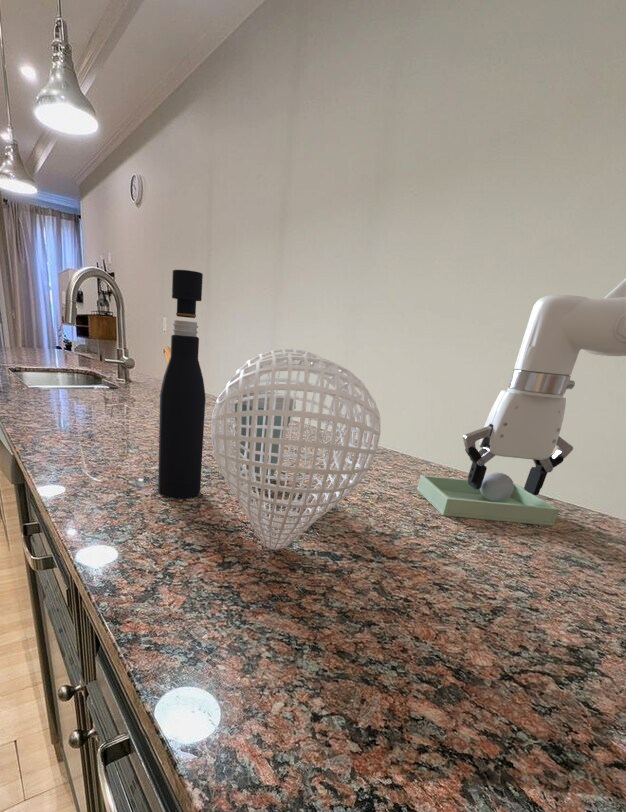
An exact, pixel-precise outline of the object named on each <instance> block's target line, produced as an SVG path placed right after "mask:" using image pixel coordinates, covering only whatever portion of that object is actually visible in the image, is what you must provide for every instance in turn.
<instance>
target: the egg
mask: <svg viewBox="0 0 626 812" xmlns="http://www.w3.org/2000/svg"><path fill="white" fill-rule="evenodd" d="M514 484H515V483H514V481H513V479H512V478H511V477H510V476H509V475H507V474H506V473H503V472H492V473H489V474H487V475H486V476H484V479H483V482H482V485H481V488H480V492H481V494H482V496H483V497H484V498H485V499H486V500H488V501H491V502H502V501H505V500H507V499H508V498H509V497H510V496H511V495H512V493H513V491H514Z"/></svg>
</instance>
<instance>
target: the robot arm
mask: <svg viewBox="0 0 626 812" xmlns="http://www.w3.org/2000/svg"><path fill="white" fill-rule="evenodd" d="M519 347H520V348H519V351H518V354H517V357H516V361H515V364H514V367H513V369H512V372H511V377H510V380H509V383H508V386H507V389H501V390H500V392H499V394H498V395H497V397H496V398H495V402H494V403H493V405H492V407H491V408H490V411H489V412H488V413H489V414H488V416H487V418H486V421H485V424H484V426H483V427H482V428H479V429H476V430H474V431H470V432H468V433H465V434H464V435H463V436H462V440H463V445H464V448H465V449H464V450H465V453H466V454H467V455H468V457H469V460H470V461H471V465H470V468H469V472H468V475H467V480H468V484H469V485H470V486H472V487H473V488H474V489H480V488H481V485H482V482H483V479H484V478H485V477H486V476H485V475H486V473H487V470H488V468H487V465H485V464H487V463H488V462H489V461H490V460H492V459H493V458H494V457H495V456H498V457H503V458H505V457H506V458H514V459H522V460H523V459H524V460H532V461H533V464H534V466H531V468H530V469H529V472H528V475H527V478H526V481H525V484H524V486H523V488H524V489H525V490H526V491H528V492H530V493H531V494H533V495H536V496H539V494H540V491H541V489H542V488H543V486H544V483H545V480H546V478H547V475H548V473H552V472H553V470H554V468H556V467H557V466H559V465H561V464H562V463H563V462H564V460H565V459H566V458H567V457H568V456H569V455H570V453H572V452H573V450H574V446H572V444H570V442H567V441H566V440H565V439H563V438H562V437H561V436H560V433H561V429H562V426H563V422H564V417H565V411H566V405H567V404H566V403H567V397H564V395H565V393H566V391H567V390H572V389H574V387H575V384H576V382H575V381H574V380H571V377H572V373H573V370H574V366H575V364H576V361H577V359H578V356H579V354H580V351H581V350H583V351H585V352H587V353H589V354H591V355H594V356H602V357H603V356H605V357H625V356H626V277H625V278H624V279H623V280H622V281H621V282H620V283H619V284H617V286H615V287H614V288H613V289H612V290H610V292H609V293H607V295H605V296H604V297H603V298H590V297H586V296H580V295H571V294H570V295H569V294H552V295H545V296H542V297H540V298H539V299H538V300H536V302H535V303H534V305H533V307H532V309H531V312H530V315H529V319H528V322H527V324H526V328H525V332H524V335H523V338H522V340H521V345H520V346H519ZM477 441H478V446H479V447H480V448H479V449H477V447H476V446H477V445H476V442H477ZM555 448H556V450H555ZM554 451H555V453H553V452H554Z"/></svg>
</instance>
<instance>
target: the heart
mask: <svg viewBox="0 0 626 812" xmlns="http://www.w3.org/2000/svg"><path fill="white" fill-rule="evenodd" d="M276 372H277V373H276ZM281 372H287V373H286V377H280V375H281ZM293 372H297V373H296V379H294V378H292V373H293ZM301 372H304V374H303V375H304V377H303V380H301V379H299V378H300V374H301ZM311 374H312V375H315V376H317V377H316V379H315V384H314V383H312V382H310V381H309V380H310V376H311ZM264 375H266V378H261V377H263V376H264ZM325 381H326V384H325ZM263 383H266V384H263ZM330 385H331V386H332V387H333V388H334V389H333V388H329V387H330ZM357 389H358V390H357ZM260 391H266V393H265V394H261V395H259V392H260ZM278 391H284V393H282V394H277V393H278ZM292 391H294V392H293V394H291V392H292ZM358 391H359V392H358ZM268 392H270V394H268ZM274 392H275V394H274ZM297 392H303V396H299V395H297ZM250 393H254V395H253V396H250ZM308 393H313V394H312V399H310V398H308ZM244 394H247V397H244V398H243V395H244ZM286 394H287V395H286ZM317 394H319V398H318V401H316V397H317ZM327 396H329V397H331V398H332V400H331V404H330V406H328V405H327V404H326V403H325V402H326V398H327ZM267 397H270V399H269V410H266V408H267ZM237 398H238V400H236V399H237ZM258 398H265V404H264V410H258ZM276 398H284V402H283V410H275V407H276ZM250 399H253V407H252V410H249V404H250ZM290 399H293V406H292V410H289V403H290ZM246 400H247V411H242V401H246ZM273 400H274V405H273ZM285 401H286V408H285ZM295 401H299V402H300V401H301V402H302V403H301V409H300V410H295V409H294V407H295V406H296V405H295ZM236 403H238V405H237V412H235V404H236ZM307 403H308V404H310V410H309V411H307ZM315 406H317V407H318V409H317V410H318V412H315V411H314V407H315ZM344 406H345V410H344V413H343V414H342V411H343V408H344ZM358 406H359V408H358ZM324 409H325V410H328V414H327V413H323V411H324ZM359 409H360V411H359ZM332 414H333V415H332ZM245 416H246V425H242V422H241V417H245ZM249 416H252V420H251V425H249ZM257 416H263V425H257ZM266 416H268V421H267V425H265V419H266ZM274 416H282V419H281V426H274ZM284 416H285V418H284ZM288 416H290V417H291V419H290V423H289V426H288V427H287V423H288ZM367 416H368V424H367ZM235 417H237V423H236V421H235ZM294 418H299V424H298V427H293V423H294ZM283 419H284V427H283ZM306 419H308V423H307V429H305V423H306ZM312 421H316V428H315V430H314V431H313V430H311V425H312ZM271 422H272V425H271ZM322 423H323V424H325V427H324V429H323V432H321V430H322V429H321V427H322ZM338 424H339V426H338ZM329 425H330V426H332V427H331V430H330V432H328V429H329ZM235 427H236V430H235ZM241 428H246V436H243V435H241ZM249 428H251V434H250V437H249ZM257 428H262V437H256V433H257ZM381 428H382V427H381V414H380V412H379V409H378V407H377V403H376V401H375V398H374V397H373V395H372V394H371V392H370V391H369V389H368V388H367V387H366V385H365V384H364V382H362V380H361V379H360V378H359V377H357V376H356V375H355V374H354V373H353V372H352V371H350V370H349V369H347V368H346V367H344V366H342V365H340V364H337V363H336V362H334V361H332V360H329V359H327V358H323V357H321V356H319V355H317V354H316V353H313V352H310V351H307V350H302V349H295V348H279V349H271V350H268V351H264V352H261V353H259V354H257V355H254V356H253V357H251V358H249V359H248V360H246V361H245V362H244V363H243V364H242V365H240V367H238V369H236V370H235V372H234V374H233V375H232V377H231V378H230V379H229V381H228V382H227V383H226V384H225V385H224V387H223V389H222V390H221V391H220V393H219V395H218V396H217V398H216V401H215V404H214V408H213V411H212V414H211V424H210V440H211V447H212V451H213V455H214V459H215V460H216V464H217V466H218V469H219V471H220V473H221V475H222V476H223V478H224V480H225V482H226V484H227V486H228V488H229V489H230V491H231V492H232V493H233V494H234V496H235V499H236V500H237V502H238V503H239V505H240V507H241V509H242V511H243V513H244V514H245V516H246V518H247V520H248V521H249V524H250V525H251V527H252V529H253V531H254V532H255V534H256V536H257V537H258V539H259V541H260V542H261V543H262V544H263V545H264V547H266V548H268V549H270V550H275V551H276V550H281V549H284V548H286V547H288V546H289V545H291V543H293V542H294V541H295V540H296V539H297V538H298V537H299V536H301V535H302V534H303V533H304V532H305V531H307V529H309V528H310V527H311V526H312V525H313V524H314V523H315V522H316V521H318V519H320V518H321V517H323V516H324V515H326V514H327V513H329V511H331V510H333V508H335V507H336V506H337V505H338V504H339V503H340V502H342V501H343V500H344V499H346V497H347V496H349V495H350V494H351V492H352V491H353V490H354V489H356V487H357V486H358V485H359V484H360V483H362V481H363V479H364V477H365V476H366V474H367V473H368V471H369V470H370V467H371V466H372V463H373V461H374V458H375V457H376V454H377V451H378V447H379V442H380V437H381V430H382V429H381ZM265 429H267V431H266V437H264V432H265ZM273 429H279V430H280V438H273ZM282 430H283V436H282ZM287 431H288V433H289V436H288V438H287ZM270 432H271V436H270ZM292 432H297V439H292ZM235 434H236V436H235ZM304 434H306V437H305V439H306V440H304V439H303V438H304ZM310 435H314V441H311V440H309V438H310ZM338 435H339V436H338ZM356 435H357V438H356ZM320 436H322V442H320V438H321V437H320ZM329 436H330V437H329ZM327 437H329V438H330V439H328V440H327ZM367 437H368V438H367ZM241 441H244V442H246V443H245V447H244V446H243V445H241V444H240V442H241ZM248 442H250V449H248ZM256 442H257V443H261V452H260V451H255V449H256ZM264 443H265V452H263V445H264ZM269 443H270V448H269ZM272 444H279V452H278V454H277V453H271V450H272ZM281 444H282V445H281ZM286 446H288V447H287V453H285V448H286ZM291 446H292V447H293V446H294V447H296V454H291ZM302 447H303V448H304V455H303V454H302ZM240 448H242V449H243V450H245V453H244V456H243V455H242V454H241V453H240ZM308 448H312V449H313V452H312V454H308ZM319 449H322V450H321V452H319ZM268 451H269V453H268ZM280 451H281V452H280ZM247 452H249V459H247ZM255 454H259V455H260V462H259V461H255ZM263 455H264V462H262V461H263ZM268 456H269V462H268V463H267V461H268ZM271 456H274V457H278V462H277V464H273V463H271ZM321 456H322V459H321V460H319V461H318V462H317V458H319V457H321ZM352 456H353V457H352ZM240 457H241V458H240ZM284 458H286V461H287V462H286V464H283V463H284ZM290 459H295V465H290ZM309 459H311V463H310V465H307V464H308V463H307V462H308V460H309ZM300 460H303V466H300ZM242 464H243V465H242ZM322 464H323V467H319V466H321V465H322ZM246 465H249V470H247V469H246ZM240 467H241V468H242V471H241V472H240ZM255 467H260V474H258V473H255ZM262 468H263V473H262ZM267 469H268V475H266V471H267ZM270 469H273V470H275V471H276V476H275V475H273V476H270ZM282 472H285V476H282ZM289 472H290V473H293V476H292V477H289ZM243 473H244V474H245V477H244V476H242V474H243ZM247 473H248V474H249V475H248V474H247ZM298 473H299V474H302V476H300V477H298ZM306 474H309V475H308V476H306ZM320 475H322V477H321V478H318V477H319V476H320ZM255 476H257V477H260V481H257V480H256V477H255ZM252 477H253V479H252ZM266 478H267V479H268V480H266ZM265 480H266V481H267V482H266V481H265ZM271 480H276V481H275V484H274V483H271ZM281 481H284V483H283V484H284V485H281V484H280V483H281ZM305 481H307V484H306V487H303V486H304V484H305ZM288 482H291V486H287V485H288ZM297 482H300V483H299V486H298V487H296V483H297ZM314 482H316V484H315V486H314V487H312V485H313V484H314ZM253 488H254V490H255V493H254V490H253ZM259 489H260V493H259ZM265 490H267V492H268V493H267V494H268V495H267V496H268V497H265ZM271 491H274V495H273V498H272V497H271ZM279 492H282V496H281V497H282V498H281V499H280V498H279V499H278V495H279ZM286 493H289V495H288V499H285V495H286ZM294 494H295V497H294ZM300 494H302V496H301V498H300V500H299V496H300ZM293 497H294V499H293ZM312 497H313V499H312ZM311 499H312V500H311ZM266 504H268V508H267V507H266ZM271 505H272V506H271ZM277 506H278V507H279V509H280V510H277ZM284 507H285V509H284V510H283V508H284ZM267 514H268V516H267ZM276 517H278V518H276ZM282 517H283V519H281V518H282ZM276 529H277V530H276Z"/></svg>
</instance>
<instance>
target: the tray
mask: <svg viewBox="0 0 626 812" xmlns="http://www.w3.org/2000/svg"><path fill="white" fill-rule="evenodd" d="M416 490H417V492H418V493H419V494H420V495H421V496H422V497H424V499H426V501H428V502H429V503H430V504H431V506H433V507H434V509H436V510H437V512H439V513H440V514H441V516H443V517H454V518H464V519H465V518H466V519H467V518H468V519H473V520H475V519H476V520H487V521H496V522H508V523H516V524H517V523H518V524H527V525H539V526H550V527H553V526H555V522H556V519H557V517H558V514H559V512H560V508H558V507H556V506H554V505H553V504H551V503H549V502H548V501H546V500H545V499H543V498H541V497H540V496H538V495H533V494H531V493H530V492H528V491H526V490H525V489H524V487H522V486H520V485H518V484H517V483H514V491H513V493H512V495H511V496H510V497H509V498H508V499H507V500H505V501H502V502H491V501H488V500H486V499H485V498H484V497H483V496H482V494H481V492H480V489H474V488H473V487H472V486H470V485H469V484H468V478H455V477H446V476H435V475H423V474H420V476H419V479H418V484H417V488H416Z"/></svg>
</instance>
